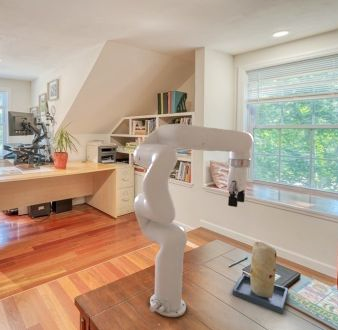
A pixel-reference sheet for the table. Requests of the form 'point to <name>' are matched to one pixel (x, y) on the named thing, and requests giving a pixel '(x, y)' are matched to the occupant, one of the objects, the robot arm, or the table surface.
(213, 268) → the table surface
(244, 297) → the serving tray
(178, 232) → the robot arm
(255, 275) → the food model
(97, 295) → the table surface
